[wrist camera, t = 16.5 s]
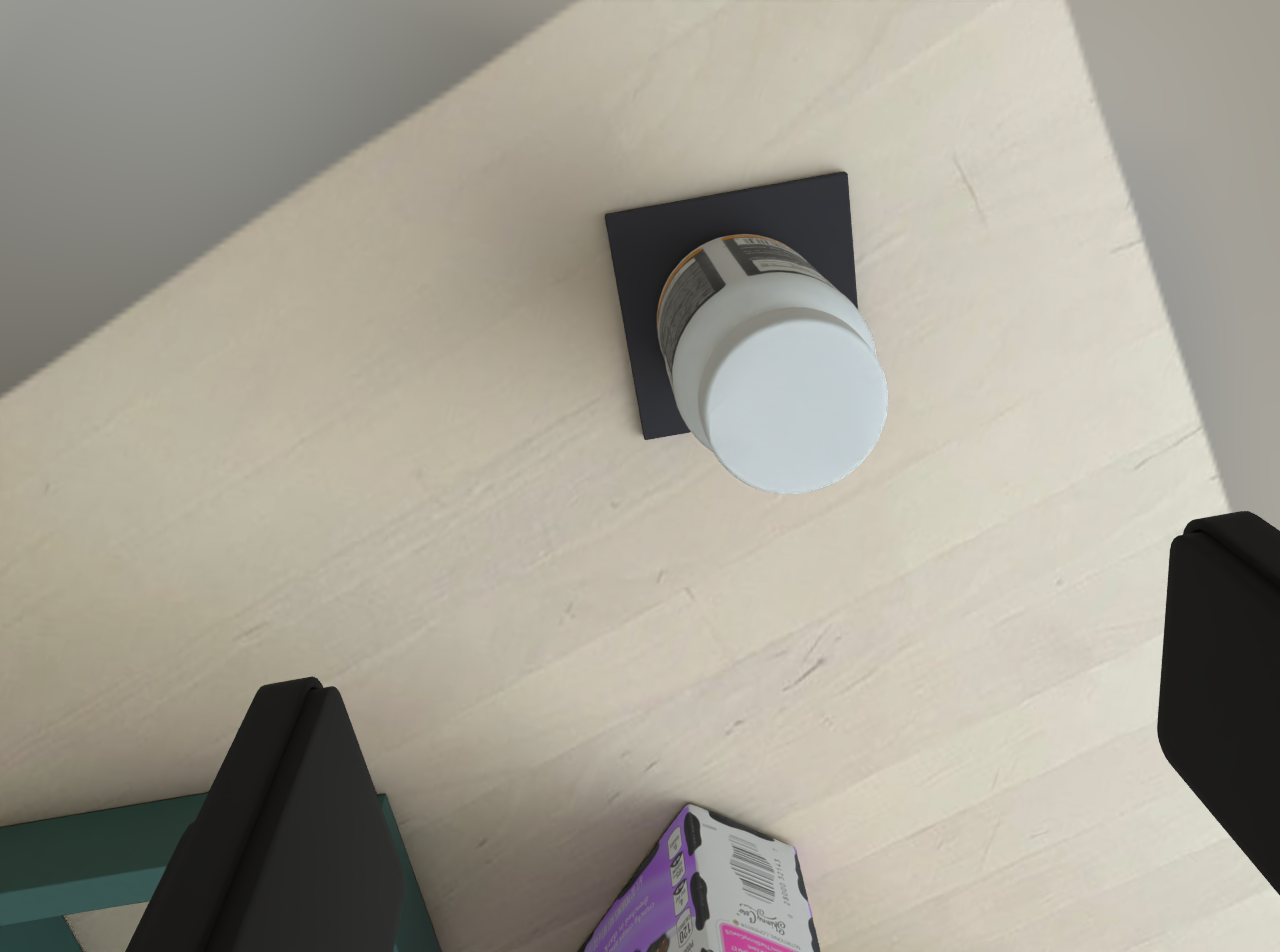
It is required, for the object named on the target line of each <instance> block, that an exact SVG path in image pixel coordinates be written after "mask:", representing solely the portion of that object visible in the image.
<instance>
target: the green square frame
mask: <svg viewBox="0 0 1280 952" xmlns="http://www.w3.org/2000/svg"><path fill="white" fill-rule="evenodd" d="M207 795H208V793H205V794H199V795H193V796H187V797H181V798H175V799H169V800H163V801H157V802H151V803H145V804H139V805H133V806H127V807H121V808H115V809H109V810H103V811H97V812H91V813H85V814H80V815H74V816H68V817H62V818H56V819H50V820H44V821H38V822H32V823H26V824H20V825H14V826H8V827H2V828H0V952H82V950H81V948H80V946H79V945H78V943H77V941H76V939H75V937H74V936H73V934H72V932H71V930H70V929H69V927H68V925H67V923H66V921H65V920H64V918H63V916H62V915H68V914H74V913H80V912H86V911H92V910H98V909H104V908H110V907H116V906H123V905H129V904H135V903H141V902H147V901H150V900H151V898H152V896H153V894H154V892H155V890H156V888H157V886H158V883H159V881H160V879H161V877H162V875H163V873H164V871H165V869H166V867H167V865H168V863H169V861H170V859H171V857H172V855H173V853H174V851H175V849H176V846H177V844H178V842H179V840H180V838H181V836H182V835H183V833H184V832H185V830H186V829H187V827H188V826H189V824H191V823H192V822H194V821H195V820H196V818H197V816H198V814H199V812H200V810H201V808H202V806H203V803H204V801H205V799H206V797H207ZM378 799H379V802H380V805H381V807H382V810H383V813H384V816H385V819H386V821H387V824H388V827H389V830H390V832H391V835H392V838H393V841H394V844H395V846H396V849H397V852H398V855H399V857H400V860H401V864H402V868H403V874H404V898H403V904H402V909H401V914H400V919H399V924H398V930H397V935H396V940H395V945H394V950H393V952H441V950H440V947H439V944H438V941H437V939H436V936H435V933H434V930H433V927H432V924H431V921H430V919H429V916H428V913H427V910H426V907H425V904H424V902H423V899H422V896H421V893H420V890H419V887H418V884H417V882H416V879H415V876H414V873H413V870H412V867H411V865H410V862H409V859H408V856H407V853H406V850H405V847H404V845H403V842H402V839H401V836H400V833H399V830H398V828H397V825H396V822H395V819H394V816H393V813H392V810H391V808H390V805H389V802H388V799H387V796H386V794H384V795H378Z"/></svg>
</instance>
